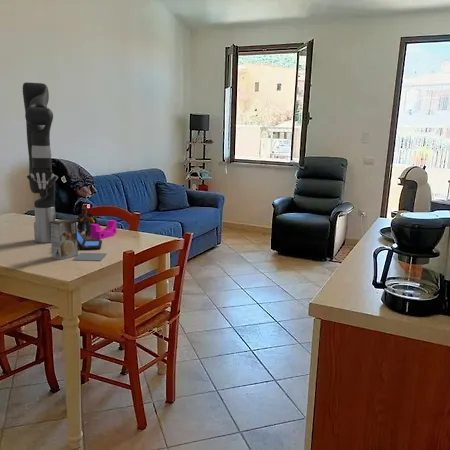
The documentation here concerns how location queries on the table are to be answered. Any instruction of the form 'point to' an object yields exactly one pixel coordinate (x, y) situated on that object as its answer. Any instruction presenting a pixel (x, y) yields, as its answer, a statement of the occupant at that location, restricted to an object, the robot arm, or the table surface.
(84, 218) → the doll family
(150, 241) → the table surface
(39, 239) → the robot arm
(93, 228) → the toy block
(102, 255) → the slate mat
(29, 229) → the table surface
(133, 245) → the table surface
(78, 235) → the game console
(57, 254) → the coffee box
